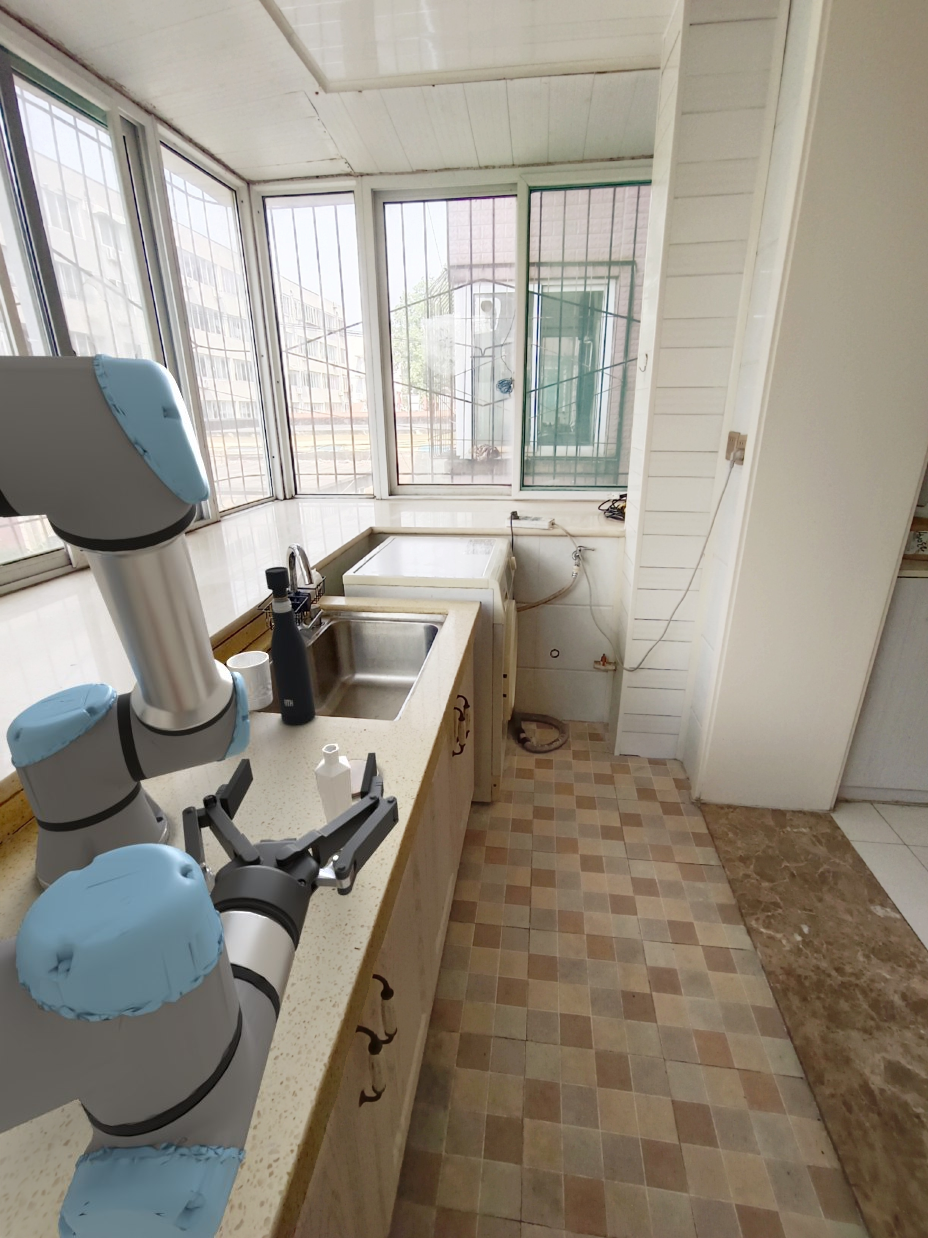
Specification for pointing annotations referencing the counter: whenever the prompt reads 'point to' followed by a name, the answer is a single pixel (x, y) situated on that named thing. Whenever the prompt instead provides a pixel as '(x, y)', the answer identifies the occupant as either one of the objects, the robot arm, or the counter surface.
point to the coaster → (357, 775)
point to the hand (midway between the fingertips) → (310, 765)
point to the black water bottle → (289, 654)
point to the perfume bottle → (334, 782)
